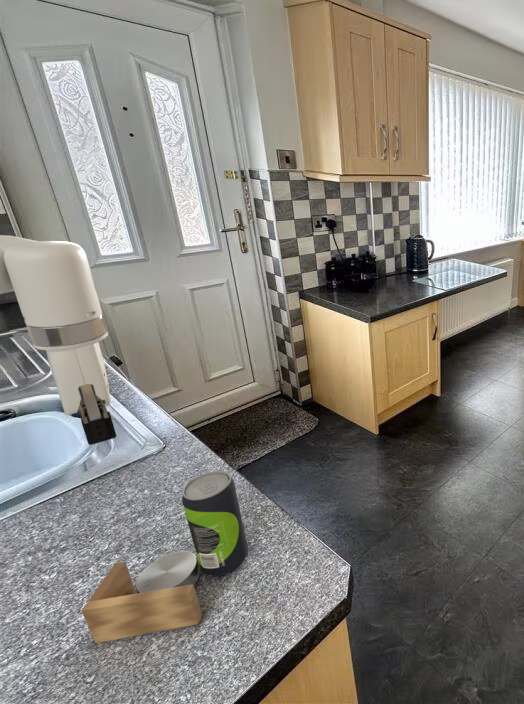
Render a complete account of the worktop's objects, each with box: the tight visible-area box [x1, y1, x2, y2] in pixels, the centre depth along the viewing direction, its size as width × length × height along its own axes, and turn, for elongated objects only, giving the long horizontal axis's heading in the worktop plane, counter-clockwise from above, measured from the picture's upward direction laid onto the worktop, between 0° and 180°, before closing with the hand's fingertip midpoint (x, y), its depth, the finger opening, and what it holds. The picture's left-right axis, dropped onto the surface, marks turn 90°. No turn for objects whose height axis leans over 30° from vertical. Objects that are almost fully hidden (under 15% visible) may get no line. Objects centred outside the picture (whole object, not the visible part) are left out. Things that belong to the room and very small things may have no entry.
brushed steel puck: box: [134, 550, 201, 594], centre depth 61 cm, size 7×7×2 cm
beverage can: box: [181, 470, 249, 577], centre depth 63 cm, size 6×6×15 cm
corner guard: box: [81, 561, 203, 644], centre depth 57 cm, size 12×7×6 cm, turn 104°
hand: (102, 438), depth 66 cm, fingers closed
